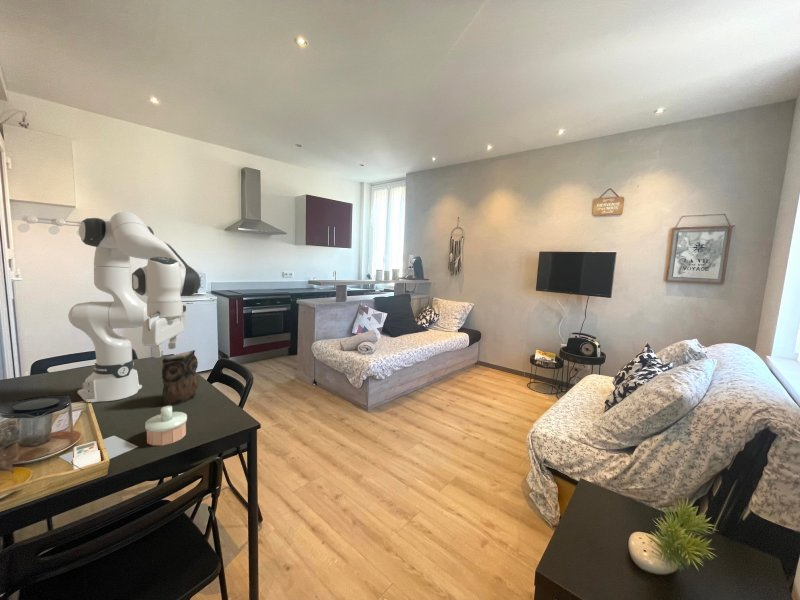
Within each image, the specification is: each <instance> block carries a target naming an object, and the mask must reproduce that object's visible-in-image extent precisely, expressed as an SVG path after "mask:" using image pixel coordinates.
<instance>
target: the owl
mask: <svg viewBox="0 0 800 600" xmlns="http://www.w3.org/2000/svg"><path fill="white" fill-rule="evenodd" d="M195 353H196V350H195V349H194V350H193V349H192V350H190V351H186V352H180V353H178V354H174V355H171V356H168V357H164V358H163V359H162V362H161V363H162V368H161V375H162V376H161V379H162V383H163V387H162V398H163V402H164V406H172V407H173V406H178V405H182V404H183V403H186V402H189V401H190V400H193V399H195V396H196V395H197V391H198V388H199V384H200V379H199V375H198V374H197V373H196V372H197V369H198V366H199V365H198V363H199V362H198V358H197V357H196V355H195Z"/></svg>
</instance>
